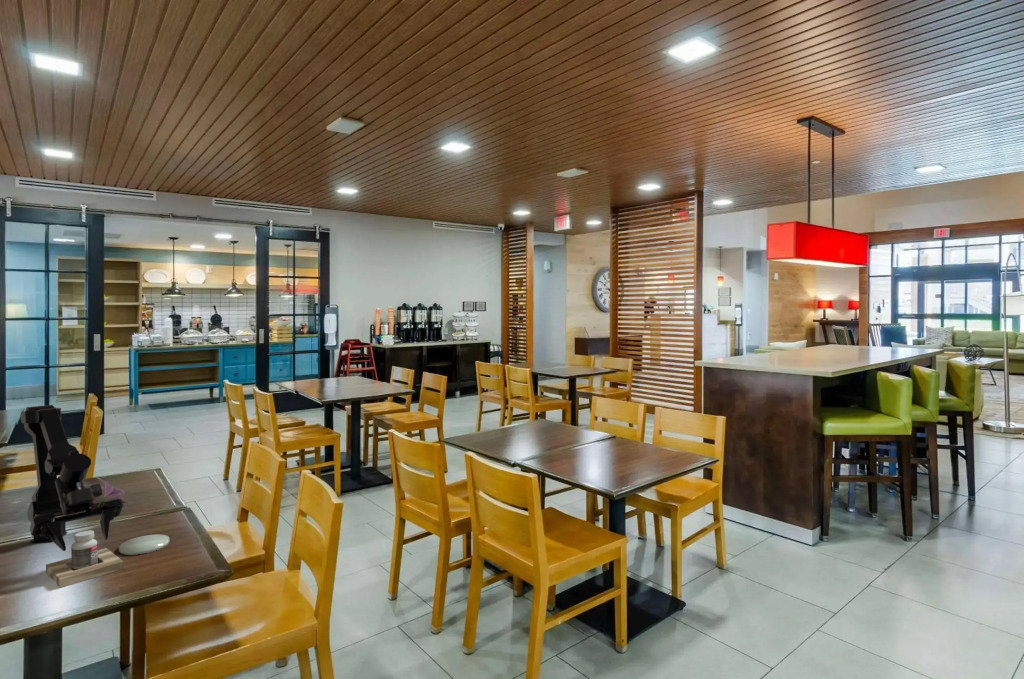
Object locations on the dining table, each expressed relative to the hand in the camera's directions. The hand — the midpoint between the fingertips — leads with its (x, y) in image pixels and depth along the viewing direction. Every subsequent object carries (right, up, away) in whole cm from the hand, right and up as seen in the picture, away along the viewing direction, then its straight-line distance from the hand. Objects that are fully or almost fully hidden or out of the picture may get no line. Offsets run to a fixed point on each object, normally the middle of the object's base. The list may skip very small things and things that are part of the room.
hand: (86, 544), depth 141 cm
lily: (-31, -5, +52) cm, 61 cm away
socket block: (-1, -7, +1) cm, 7 cm away
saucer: (+4, -7, +16) cm, 18 cm away
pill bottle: (-1, -7, +1) cm, 7 cm away
